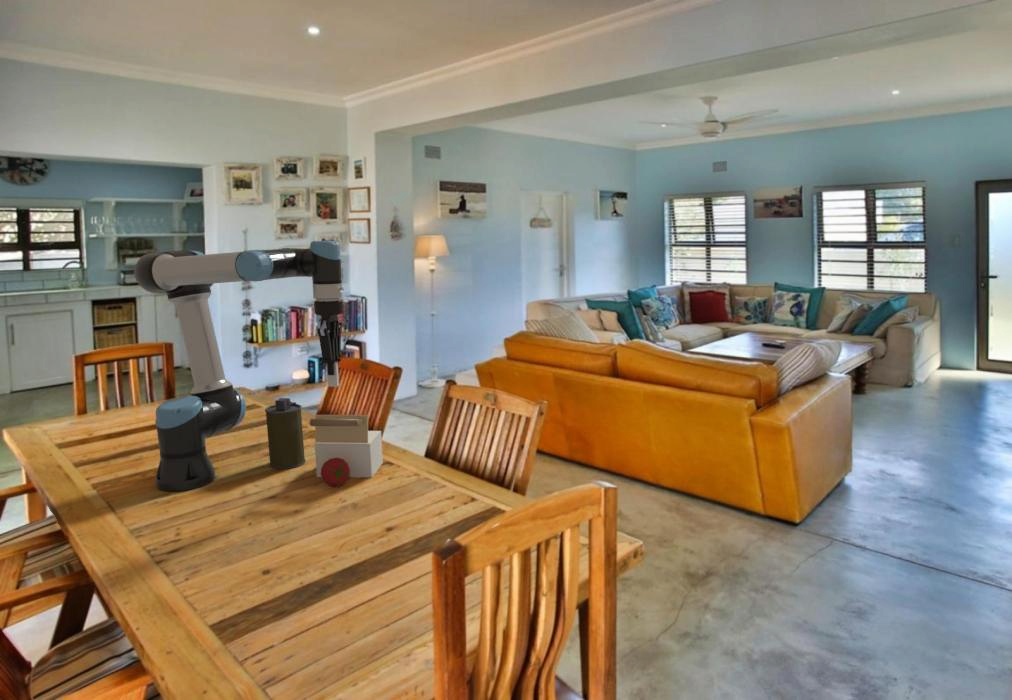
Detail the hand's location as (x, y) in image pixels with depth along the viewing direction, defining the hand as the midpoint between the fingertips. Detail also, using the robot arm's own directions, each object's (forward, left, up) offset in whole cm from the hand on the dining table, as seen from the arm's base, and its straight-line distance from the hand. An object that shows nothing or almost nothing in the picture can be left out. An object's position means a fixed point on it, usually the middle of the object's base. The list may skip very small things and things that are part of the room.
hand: (333, 385), depth 182 cm
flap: (0, +4, -13) cm, 14 cm away
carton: (0, +9, -27) cm, 29 cm away
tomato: (0, -3, -28) cm, 28 cm away
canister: (-21, +14, -28) cm, 37 cm away
